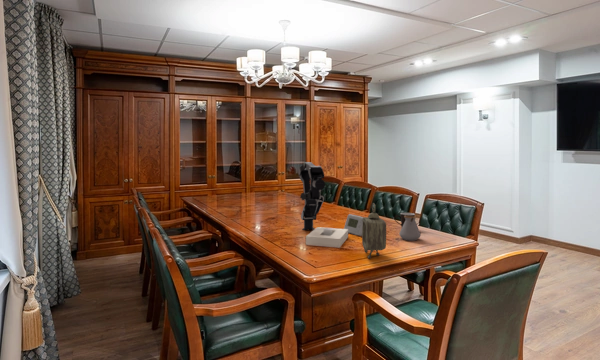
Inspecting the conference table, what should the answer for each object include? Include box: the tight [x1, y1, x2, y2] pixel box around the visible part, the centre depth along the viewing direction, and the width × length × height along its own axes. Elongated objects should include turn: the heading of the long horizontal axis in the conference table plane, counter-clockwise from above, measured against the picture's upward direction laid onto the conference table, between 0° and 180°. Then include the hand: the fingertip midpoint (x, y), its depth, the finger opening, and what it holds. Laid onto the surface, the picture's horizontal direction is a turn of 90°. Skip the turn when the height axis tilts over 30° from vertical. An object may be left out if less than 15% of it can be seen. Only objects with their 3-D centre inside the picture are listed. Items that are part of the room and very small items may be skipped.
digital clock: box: [343, 213, 364, 237], centre depth 222 cm, size 16×9×11 cm, turn 20°
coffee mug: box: [393, 212, 416, 228], centre depth 234 cm, size 12×9×10 cm
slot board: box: [305, 226, 349, 249], centre depth 205 cm, size 24×18×4 cm
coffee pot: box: [399, 215, 422, 242], centre depth 204 cm, size 21×12×15 cm, turn 167°
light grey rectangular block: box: [323, 227, 333, 236], centre depth 205 cm, size 4×4×6 cm
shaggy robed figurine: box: [361, 202, 387, 260], centre depth 176 cm, size 14×9×25 cm, turn 178°
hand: (315, 214), depth 217 cm, fingers open, 9 cm apart
